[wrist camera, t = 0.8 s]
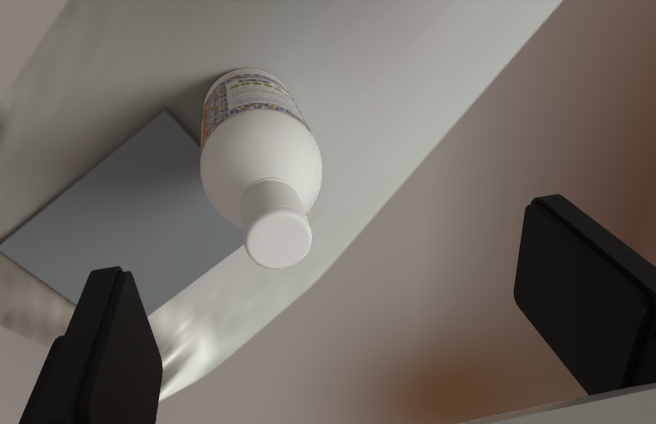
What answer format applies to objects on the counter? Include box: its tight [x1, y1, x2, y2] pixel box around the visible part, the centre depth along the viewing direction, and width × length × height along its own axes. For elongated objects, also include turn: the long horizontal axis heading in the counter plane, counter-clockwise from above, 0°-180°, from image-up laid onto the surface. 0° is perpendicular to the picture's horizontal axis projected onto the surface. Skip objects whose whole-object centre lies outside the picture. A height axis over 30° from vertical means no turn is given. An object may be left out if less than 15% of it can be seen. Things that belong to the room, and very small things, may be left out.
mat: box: [0, 109, 245, 316], centre depth 41 cm, size 17×13×1 cm
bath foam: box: [200, 68, 322, 269], centre depth 30 cm, size 7×7×20 cm
